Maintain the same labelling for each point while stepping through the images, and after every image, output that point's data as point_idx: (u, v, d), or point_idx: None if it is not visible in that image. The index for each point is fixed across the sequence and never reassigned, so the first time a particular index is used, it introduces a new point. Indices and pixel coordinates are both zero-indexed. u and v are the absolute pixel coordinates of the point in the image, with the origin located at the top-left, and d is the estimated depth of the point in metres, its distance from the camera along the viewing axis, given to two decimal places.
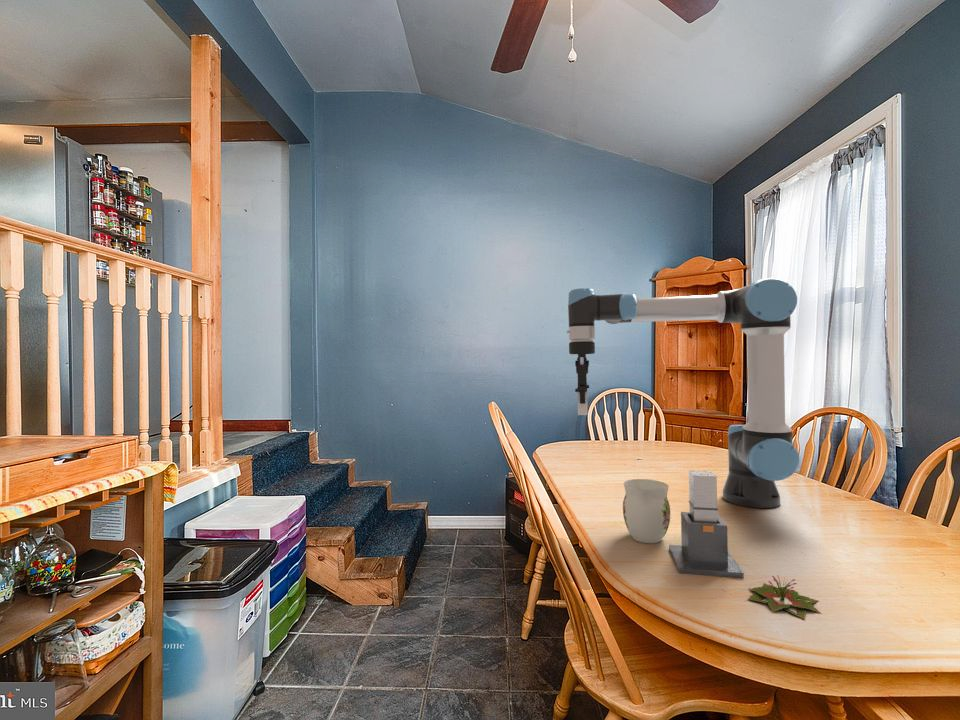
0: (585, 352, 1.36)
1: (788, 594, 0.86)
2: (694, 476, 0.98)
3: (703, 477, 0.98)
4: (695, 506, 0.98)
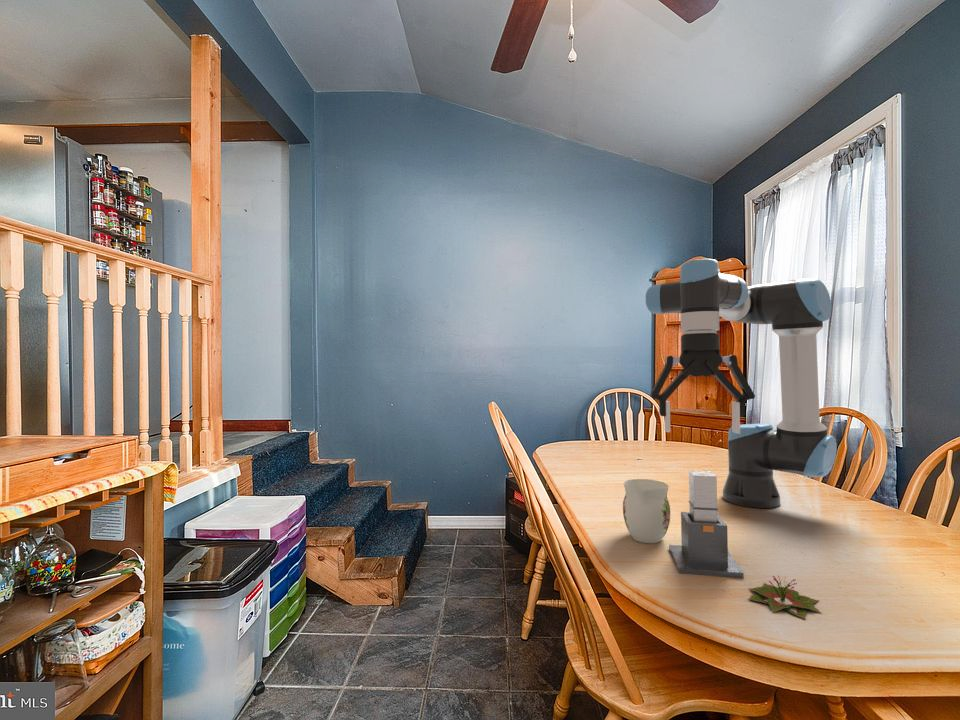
0: (683, 349, 1.00)
1: (788, 594, 0.86)
2: (694, 476, 0.98)
3: (703, 477, 0.98)
4: (695, 506, 0.98)
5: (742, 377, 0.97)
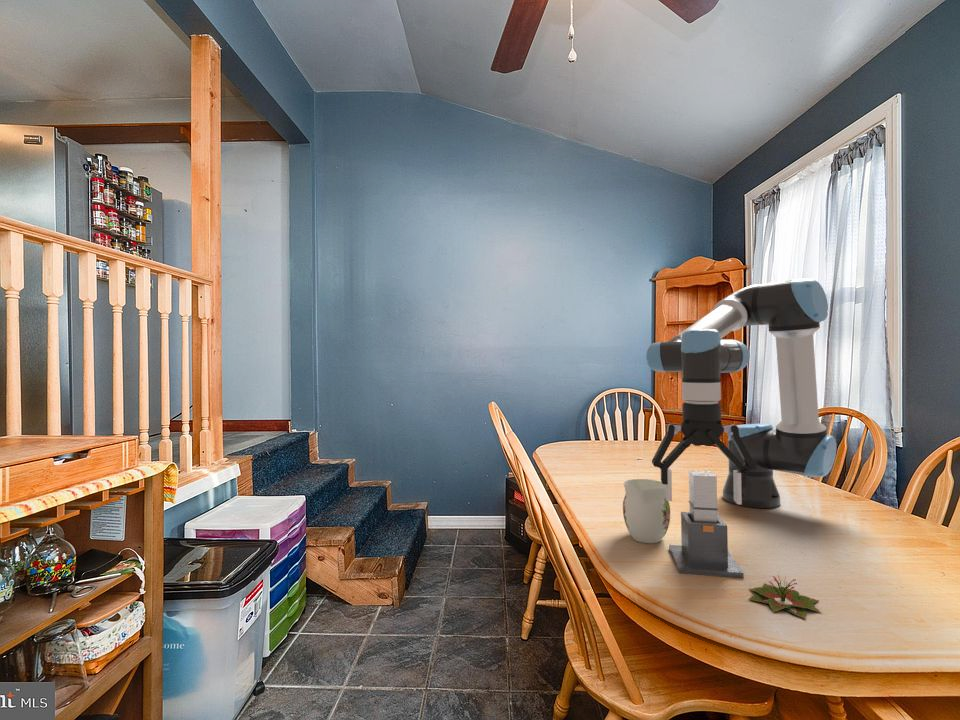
0: (684, 418, 1.00)
1: (789, 594, 0.86)
2: (694, 476, 0.98)
3: (703, 477, 0.98)
4: (695, 506, 0.98)
5: (743, 448, 0.97)
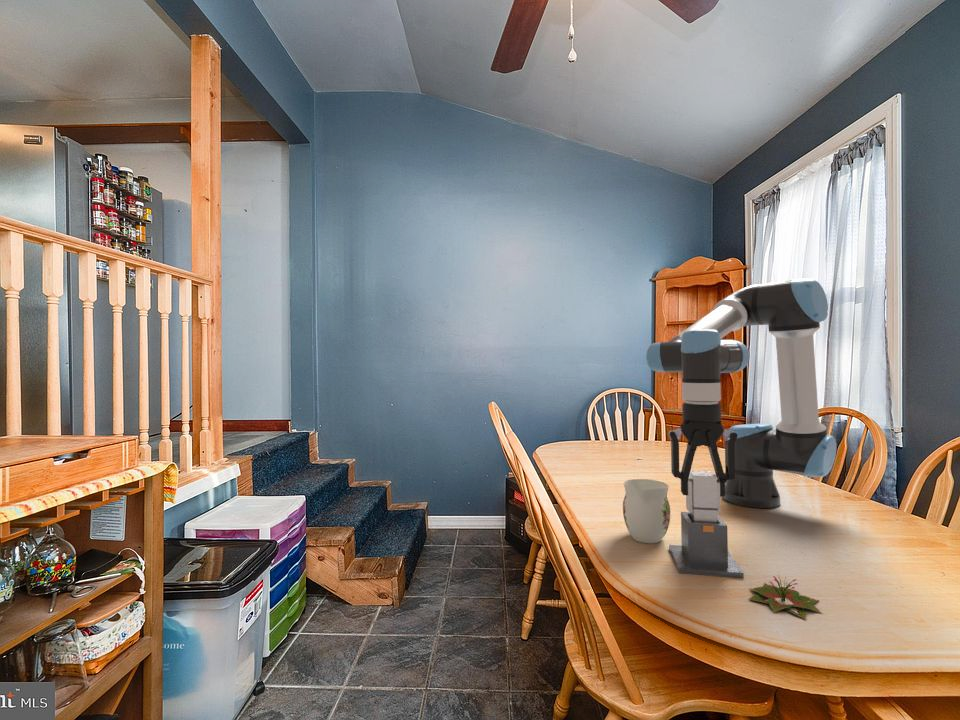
0: (684, 418, 1.00)
1: (789, 594, 0.86)
2: (694, 476, 0.98)
3: (703, 477, 0.98)
4: (695, 506, 0.98)
5: (732, 456, 0.98)
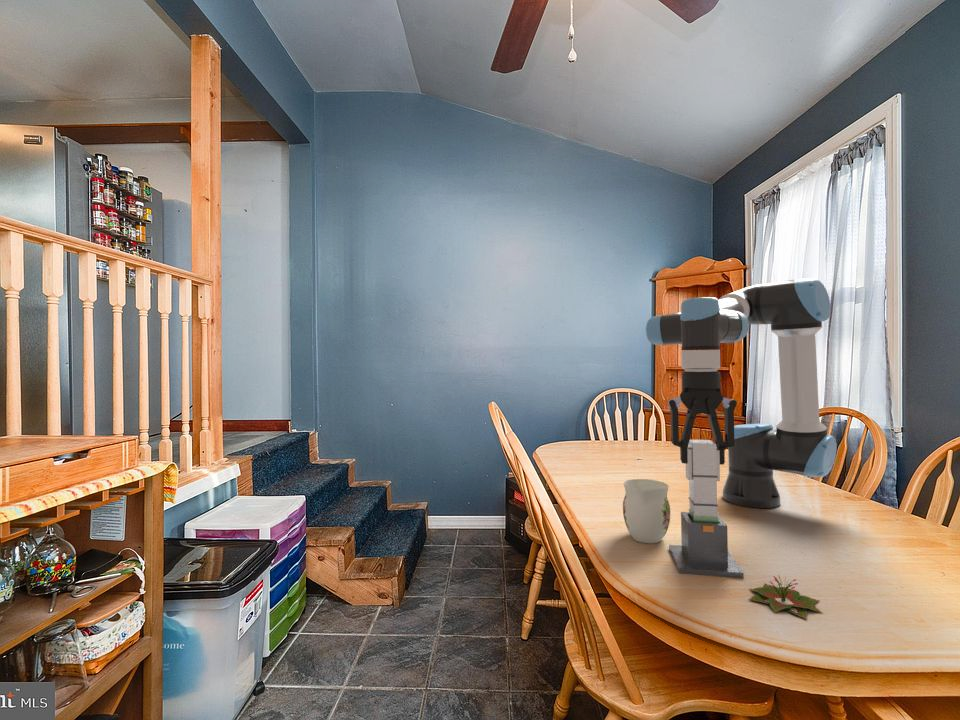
0: (684, 386, 1.00)
1: (789, 594, 0.86)
2: (693, 444, 0.98)
3: (702, 445, 0.98)
4: (694, 474, 0.98)
5: (732, 424, 0.98)
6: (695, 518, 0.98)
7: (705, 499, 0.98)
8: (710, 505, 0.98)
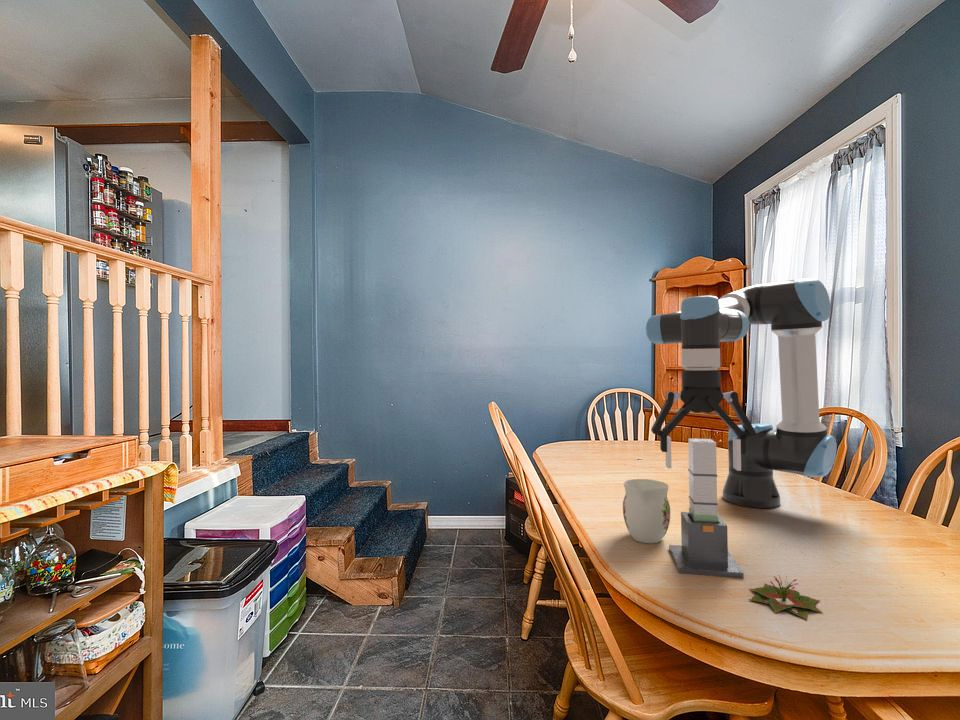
0: (684, 385, 1.00)
1: (789, 594, 0.86)
2: (693, 443, 0.98)
3: (702, 443, 0.98)
4: (694, 473, 0.98)
5: (743, 414, 0.97)
6: (695, 517, 0.98)
7: (705, 498, 0.98)
8: (710, 504, 0.98)
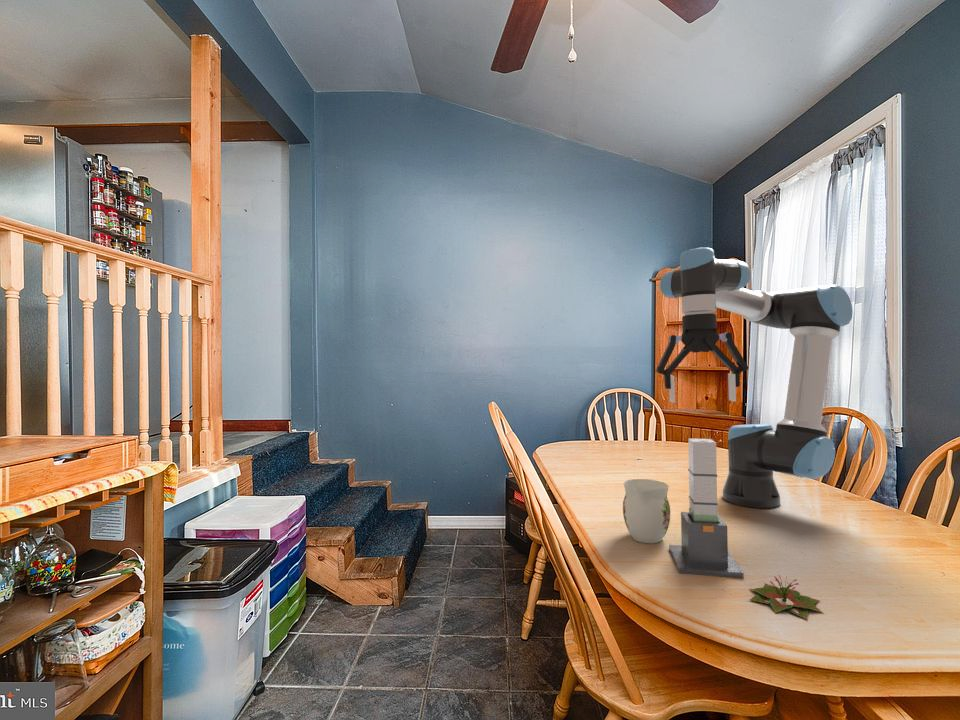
0: (684, 328, 1.12)
1: (790, 594, 0.86)
2: (693, 443, 0.98)
3: (702, 443, 0.98)
4: (694, 473, 0.98)
5: (737, 351, 1.10)
6: (695, 517, 0.98)
7: (705, 498, 0.98)
8: (710, 504, 0.98)
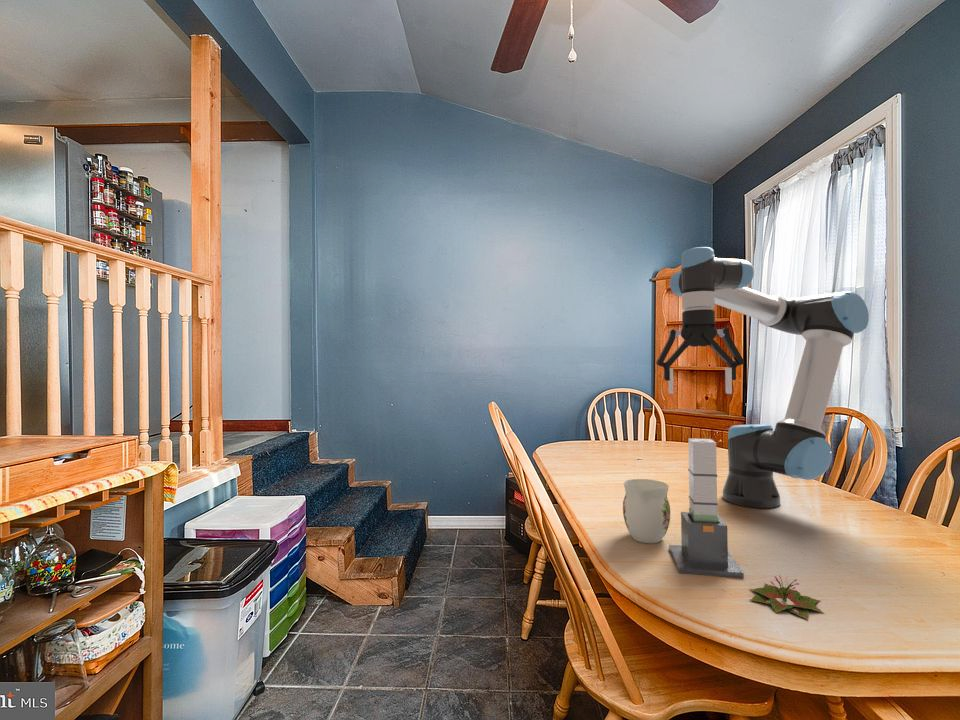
0: (684, 323, 1.18)
1: (790, 594, 0.86)
2: (693, 443, 0.98)
3: (702, 443, 0.98)
4: (694, 473, 0.98)
5: (733, 346, 1.16)
6: (695, 517, 0.98)
7: (705, 498, 0.98)
8: (710, 504, 0.98)
